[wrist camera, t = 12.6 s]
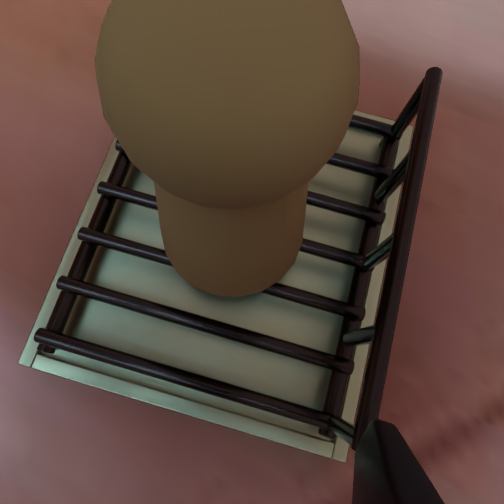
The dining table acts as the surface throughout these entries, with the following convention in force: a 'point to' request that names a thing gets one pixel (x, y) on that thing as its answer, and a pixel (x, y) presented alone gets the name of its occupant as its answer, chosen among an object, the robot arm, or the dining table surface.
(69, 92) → the dining table surface
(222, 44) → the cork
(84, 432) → the dining table surface
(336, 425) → the dish rack
